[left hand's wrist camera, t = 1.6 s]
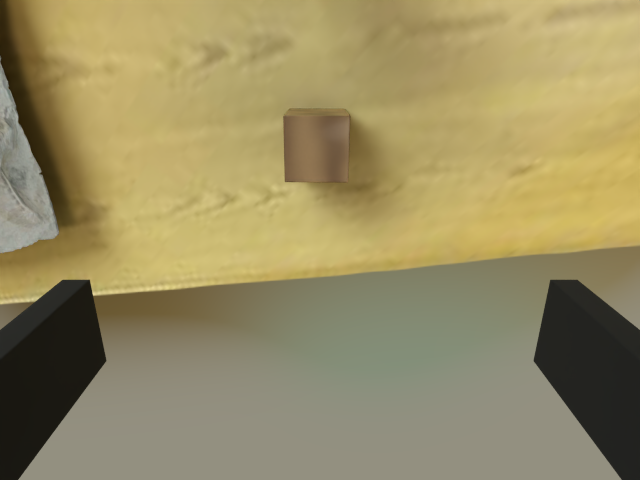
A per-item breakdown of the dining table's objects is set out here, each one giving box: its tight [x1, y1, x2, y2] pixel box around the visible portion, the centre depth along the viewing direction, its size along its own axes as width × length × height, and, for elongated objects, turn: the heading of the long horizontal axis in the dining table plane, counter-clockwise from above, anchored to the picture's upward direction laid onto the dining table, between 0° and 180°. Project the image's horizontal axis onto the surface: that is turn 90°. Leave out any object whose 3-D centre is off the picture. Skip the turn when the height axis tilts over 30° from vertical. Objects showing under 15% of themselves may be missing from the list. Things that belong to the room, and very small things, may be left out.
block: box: [283, 109, 350, 182], centre depth 44 cm, size 6×6×8 cm
